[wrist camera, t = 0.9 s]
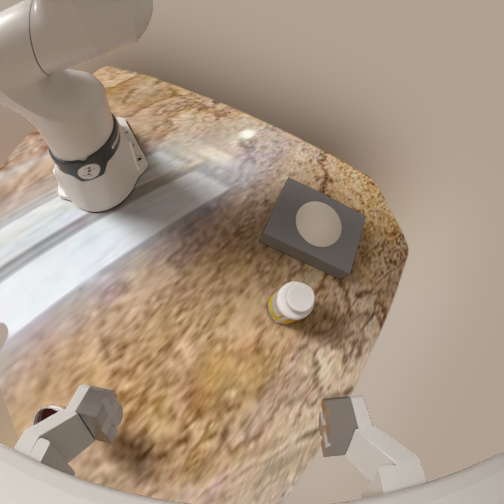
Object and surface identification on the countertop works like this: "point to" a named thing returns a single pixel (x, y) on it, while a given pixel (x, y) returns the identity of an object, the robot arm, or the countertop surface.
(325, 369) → the countertop surface
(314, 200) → the block
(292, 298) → the supplement bottle
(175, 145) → the countertop surface
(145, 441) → the countertop surface
